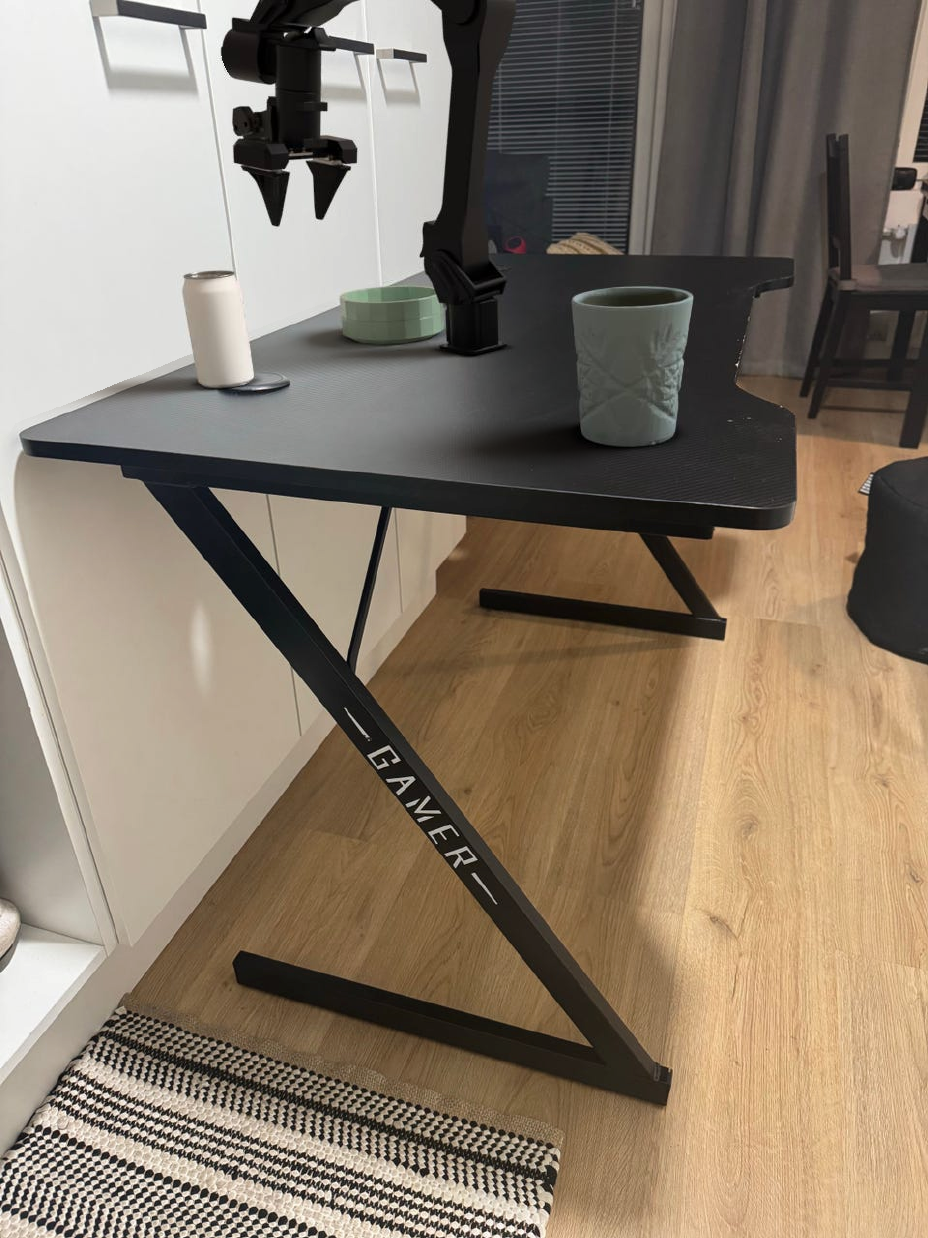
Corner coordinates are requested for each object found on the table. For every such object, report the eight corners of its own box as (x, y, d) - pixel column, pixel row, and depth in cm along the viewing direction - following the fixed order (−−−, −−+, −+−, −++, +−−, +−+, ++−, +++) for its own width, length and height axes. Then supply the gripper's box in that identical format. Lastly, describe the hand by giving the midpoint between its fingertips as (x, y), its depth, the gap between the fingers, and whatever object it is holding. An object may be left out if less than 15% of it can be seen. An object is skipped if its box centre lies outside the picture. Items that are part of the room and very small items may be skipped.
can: (189, 388, 102) (168, 278, 96) (212, 375, 107) (194, 270, 102) (242, 389, 101) (224, 277, 95) (262, 375, 106) (247, 269, 101)
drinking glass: (705, 433, 80) (718, 293, 74) (624, 457, 75) (631, 310, 69) (625, 410, 87) (632, 282, 81) (547, 431, 82) (547, 296, 76)
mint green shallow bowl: (464, 331, 125) (463, 290, 122) (387, 349, 116) (384, 306, 114) (399, 321, 134) (396, 282, 131) (323, 337, 125) (318, 296, 123)
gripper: (296, 82, 122) (296, 205, 130) (196, 80, 108) (204, 217, 116) (361, 93, 117) (357, 220, 126) (267, 92, 104) (269, 234, 112)
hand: (298, 222), depth 120 cm, fingers open, 9 cm apart
